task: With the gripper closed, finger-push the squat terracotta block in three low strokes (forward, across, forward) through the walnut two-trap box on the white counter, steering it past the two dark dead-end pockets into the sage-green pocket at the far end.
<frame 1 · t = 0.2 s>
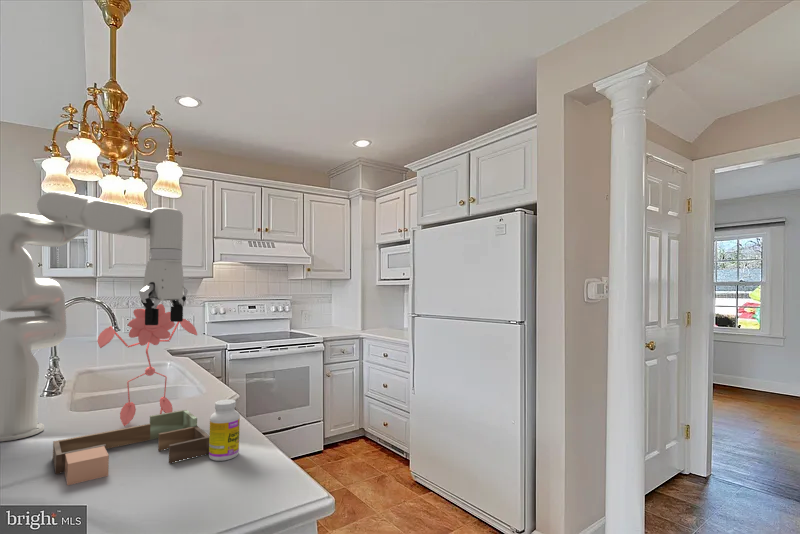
hand: (164, 323, 112), 31 cm above the counter, tool pointing down, fingers open, 9 cm apart
terracotta block: (86, 475, 94), on the counter
figurine: (149, 423, 128), on the counter
trap box: (132, 456, 104), on the counter
supplement bottle: (224, 457, 104), on the counter
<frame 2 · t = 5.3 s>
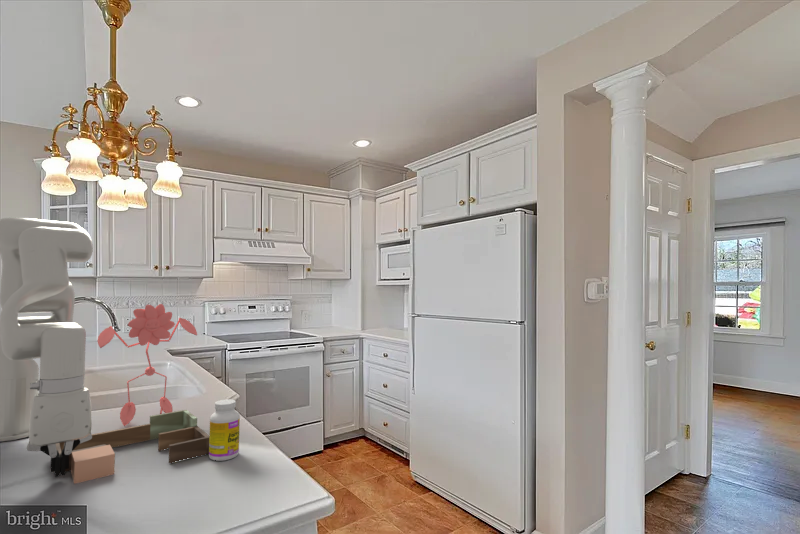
hand: (59, 473, 91), 2 cm above the counter, tool pointing down, fingers closed
terracotta block: (92, 474, 95), on the counter, touching gripper
everything else where it was.
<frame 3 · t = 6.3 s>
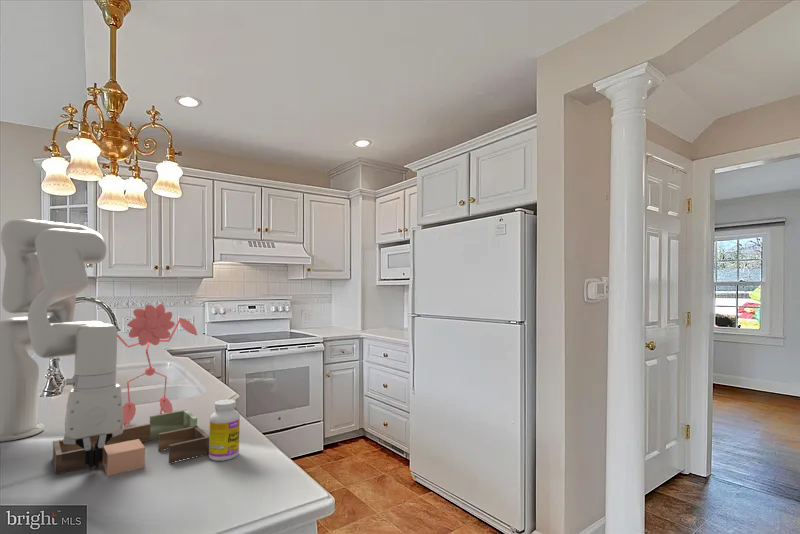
hand: (93, 466, 95), 2 cm above the counter, tool pointing down, fingers closed
terracotta block: (123, 466, 98), on the counter, touching gripper
everything else where it was.
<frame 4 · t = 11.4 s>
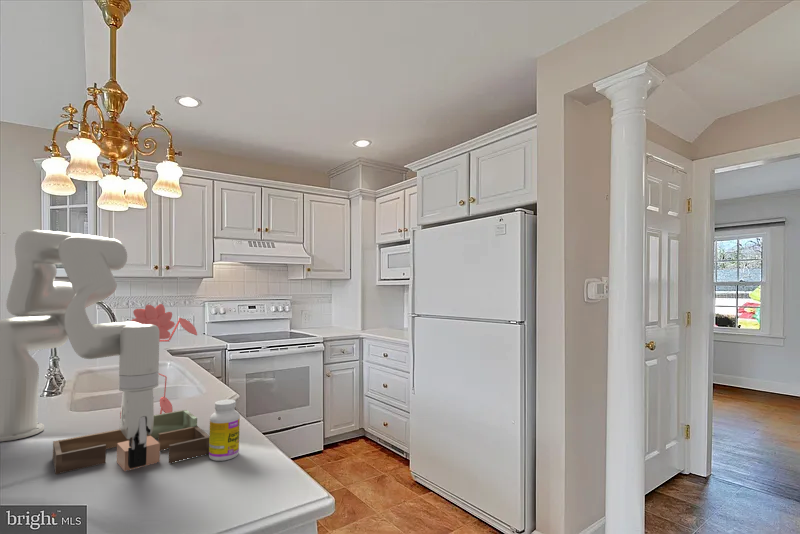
hand: (137, 465, 96), 1 cm above the counter, tool pointing down, fingers closed
terracotta block: (138, 462, 101), on the counter, touching gripper
everything else where it was.
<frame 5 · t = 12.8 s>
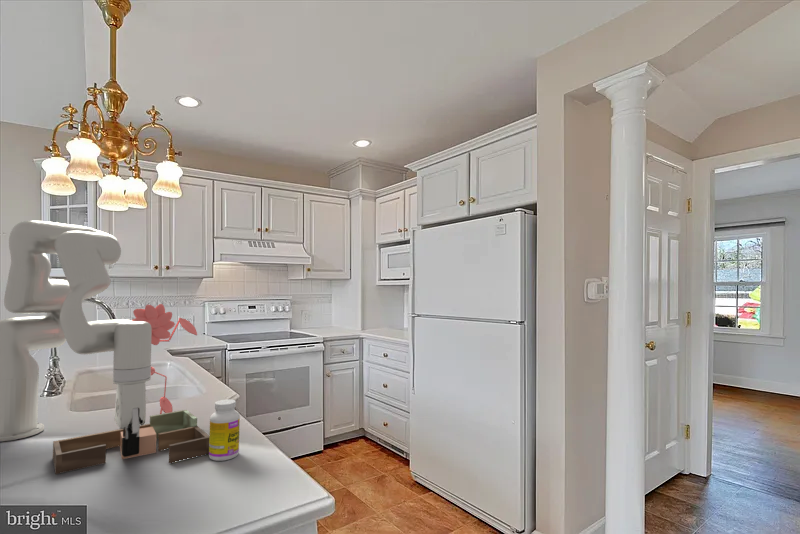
hand: (130, 454, 101), 1 cm above the counter, tool pointing down, fingers closed
terracotta block: (137, 451, 107), on the counter, touching gripper
everything else where it was.
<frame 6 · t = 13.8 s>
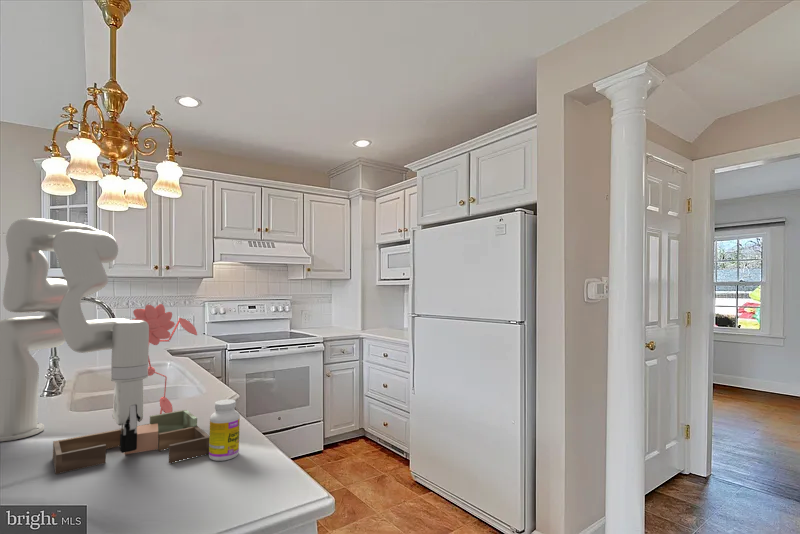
hand: (128, 450, 104), 2 cm above the counter, tool pointing down, fingers closed
terracotta block: (141, 447, 110), on the counter, touching gripper
everything else where it was.
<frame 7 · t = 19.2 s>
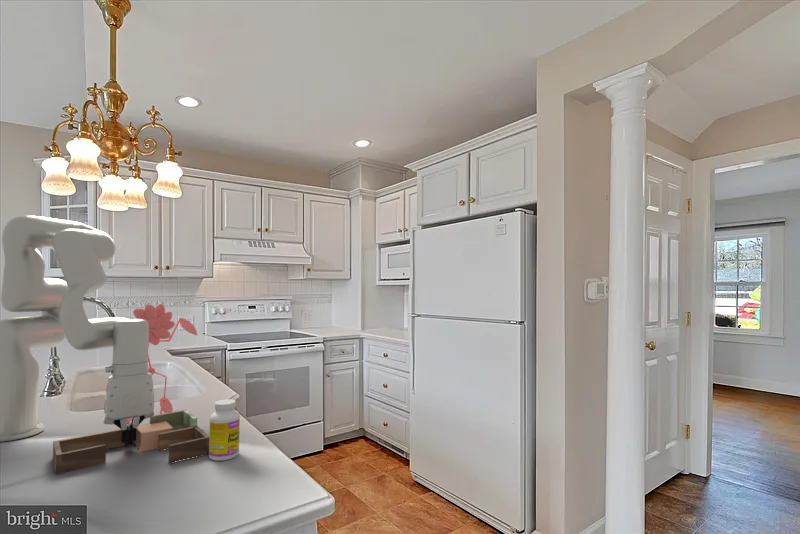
hand: (128, 444, 108), 1 cm above the counter, tool pointing down, fingers closed
terracotta block: (153, 444, 112), on the counter
everything else where it was.
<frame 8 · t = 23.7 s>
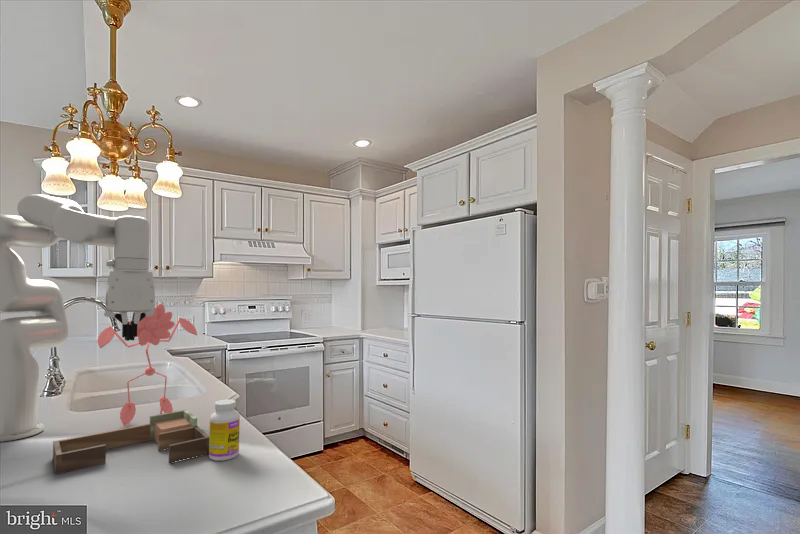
hand: (129, 339, 108), 27 cm above the counter, tool pointing down, fingers closed
terracotta block: (172, 440, 115), on the counter
everything else where it was.
at the end: terracotta block inside the target area (1.4 cm from its centre), on the counter; terracotta block tilted 0° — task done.
